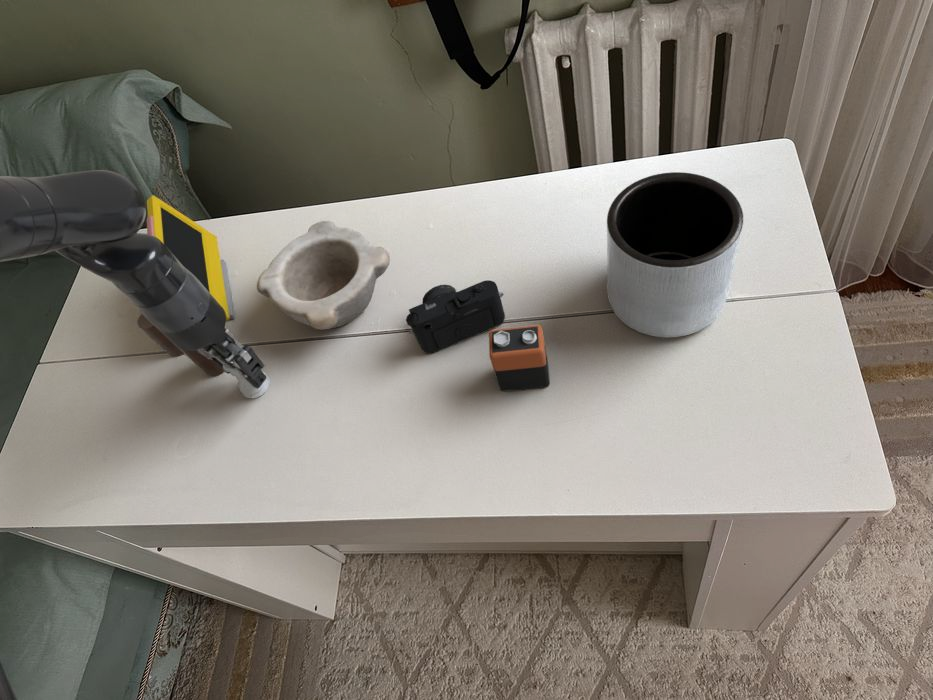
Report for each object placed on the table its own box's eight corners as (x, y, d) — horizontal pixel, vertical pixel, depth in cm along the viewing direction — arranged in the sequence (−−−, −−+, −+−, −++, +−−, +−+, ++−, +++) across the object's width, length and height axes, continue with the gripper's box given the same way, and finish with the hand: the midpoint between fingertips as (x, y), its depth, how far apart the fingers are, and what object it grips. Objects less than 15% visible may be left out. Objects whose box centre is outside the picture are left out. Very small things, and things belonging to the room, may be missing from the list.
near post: (217, 380, 96) (187, 352, 90) (199, 371, 98) (169, 343, 92) (233, 360, 98) (206, 331, 91) (216, 351, 100) (188, 322, 93)
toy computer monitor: (240, 331, 101) (185, 268, 88) (195, 350, 101) (132, 289, 88) (226, 249, 112) (176, 183, 99) (185, 266, 112) (129, 201, 99)
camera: (495, 288, 95) (486, 253, 89) (513, 323, 91) (504, 289, 85) (408, 325, 95) (392, 292, 88) (422, 361, 91) (406, 330, 84)
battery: (499, 365, 88) (487, 324, 79) (548, 360, 86) (540, 318, 78) (500, 392, 85) (487, 353, 77) (550, 388, 84) (543, 347, 76)
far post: (179, 360, 100) (148, 332, 94) (163, 351, 102) (131, 323, 95) (195, 341, 102) (166, 312, 95) (179, 333, 103) (150, 304, 97)
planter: (714, 353, 82) (731, 278, 69) (593, 328, 88) (589, 255, 75) (735, 261, 89) (755, 177, 76) (623, 243, 95) (624, 163, 82)
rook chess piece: (268, 398, 93) (241, 371, 86) (240, 401, 93) (211, 373, 87) (273, 372, 95) (248, 343, 88) (246, 375, 96) (219, 346, 89)
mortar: (413, 289, 98) (396, 250, 91) (338, 366, 93) (313, 331, 86) (343, 248, 107) (322, 209, 99) (270, 317, 101) (242, 281, 94)
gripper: (123, 311, 79) (196, 378, 93) (198, 349, 73) (265, 415, 87) (164, 268, 82) (229, 339, 96) (239, 301, 76) (297, 372, 90)
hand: (246, 375), depth 91 cm, fingers open, 5 cm apart
